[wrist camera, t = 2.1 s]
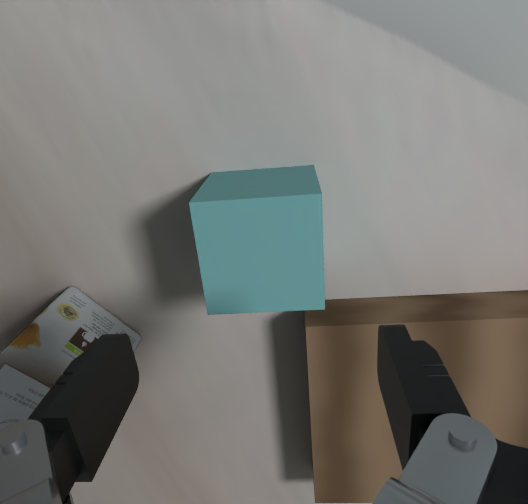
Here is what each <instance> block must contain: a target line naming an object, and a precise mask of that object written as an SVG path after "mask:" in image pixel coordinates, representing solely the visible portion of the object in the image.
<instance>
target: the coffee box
mask: <svg viewBox="0 0 528 504" xmlns="http://www.w3.org/2000/svg"><path fill="white" fill-rule="evenodd" d="M123 333H126V334H127V335H128V336H129V338H130V341H131V345H132V348H133V352H134V351H135V350H136V348H137V346H138V344H139V343H140V341H141V336H140V335H138V334H137V333H136V332H134V331H133V330H132V329H130V328H129V327H128V326H126V325H125V324H124V323H122V322H121V321H120V320H118V319H117V318H116V317H114V316H113V315H112V314H110V313H109V312H107V311H106V310H105V309H103V308H102V307H101V306H99V305H98V304H97V303H95V302H94V301H93V300H91V299H90V298H89V297H87V296H86V295H85V294H83V293H82V292H81V291H79V290H78V289H76V288H74V287H69V288H67V289H66V290H65V291H64V292H63V293H62V294H61V295H59V296H58V297H57V298H56V299H55V300H54V301H53V302H52V303H51V304H50V305H49V306H48V307H47V308H46V309H45V310H44V311H43V312H42V313H41V314H40V315H39V316H38V317H37V318H36V319H35V320H34V321H33V322H31V323H30V324H29V325H28V326H27V327H26V328H25V329H24V330H23V331H22V332H21V333H20V334H19V335H18V336H17V337H16V338H15V339H14V340H13V341H12V342H11V343H10V344H9V345H8V346H7V347H6V348H5V349H4V350H3V351H2V352H1V353H0V430H1V429H3V428H5V427H6V426H8V425H10V424H13V423H15V422H18V421H22V420H27V419H28V417H29V416H30V415H31V414H32V412H33V411H34V410H35V408H36V407H37V406H38V404H39V403H40V402H41V401H42V399H43V398H44V397H45V395H46V394H47V393H48V391H49V390H50V389H51V387H52V386H53V385H55V382H56V381H57V380H58V378H59V377H60V376H61V375H63V372H64V371H65V369H66V368H67V367H68V365H69V364H70V363H71V361H72V360H74V359H75V358H76V357H78V356H79V355H80V354H82V353H83V352H84V351H86V350H91V348H92V347H93V345H94V344H95V343H96V341H97V340H98V339H99V337H100V336H101V335H103V334H123Z"/></svg>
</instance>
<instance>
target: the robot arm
mask: <svg viewBox="0 0 528 504" xmlns="http://www.w3.org/2000/svg"><path fill="white" fill-rule="evenodd" d="M377 374H378V382H379V387H380V390H381V394H382V398H383V401H384V405H385V408H386V412H387V416H388V419H389V423H390V426H391V430H392V434H393V437H394V441H395V445H396V448H397V452H398V455H399V459H400V463H401V466H402V470H403V472H402V473H401V475H400V476H399V478H398V479H395V478H393V477H391V478H389V479H388V480H387V481H386V482H385V484H384V485H383V487H382V488H381V490H380V492H379V493H378V495H377V497H376V498H375V500H374V502H373V503H372V504H528V448H524V447H520V446H516V445H512V444H508V443H505V442H503V441H500V440H498V439H496V438H495V437H494V435H493V434H492V432H491V431H490V430H489V429H488V428H487V427H486V426H485V425H484V424H482V423H481V422H479V421H478V420H476V419H474V418H472V417H471V416H470V414H469V412H468V410H467V408H466V406H465V404H464V402H463V400H462V398H461V396H460V394H459V392H458V390H457V389H456V387H455V385H454V383H453V381H452V379H451V377H449V373H448V371H447V369H446V367H445V366H444V363H443V362H442V360H441V358H440V356H439V354H438V352H437V351H436V350H435V349H434V348H433V347H432V346H430V345H429V344H428V343H427V342H426V341H424V340H416V341H412V339H411V337H410V335H409V333H408V330H407V328H406V326H405V325H404V324H395V325H379V327H378V349H377ZM138 383H139V371H138V367H137V363H136V360H135V356H134V352H133V348H132V345H131V341H130V338H129V336H128V335H127V334H126V333H123V334H103V335H101V336H100V337H99V339H98V340H97V341H96V343H95V344H94V345H93V347H92V348H91V350H86V351H84V352H83V353H82V354H80V355H79V356H78V357H76V358H75V359H74V360H72V361H71V363H70V364H69V365H68V367H67V368H66V369H65V371H64V372H63V375H61V376H60V377H59V378H58V380H57V381H56V382H55V385H53V386H52V387H51V389H50V390H49V391H48V393H47V394H46V395H45V397H44V398H43V399H42V401H41V402H40V403H39V404H38V406H37V407H36V408H35V410H34V411H33V412H32V414H31V415H30V416H29V417H28V419H27V420H22V421H18V422H15V423H13V424H10V425H8V426H6V427H5V428H3V429H1V430H0V504H74V502H73V498H72V495H71V493H70V490H71V488H72V487H73V485H74V483H75V482H92V480H93V478H94V476H95V474H96V472H97V470H98V468H99V466H100V464H101V462H102V460H103V458H104V456H105V454H106V452H107V450H108V448H109V446H110V444H111V442H112V440H113V438H114V436H115V434H116V431H117V429H118V427H119V425H120V423H121V421H122V419H123V417H124V415H125V413H126V411H127V409H128V407H129V405H130V403H131V401H132V399H133V397H134V395H135V393H136V391H137V388H138Z"/></svg>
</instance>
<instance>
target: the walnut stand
mask: <svg viewBox="0 0 528 504" xmlns="http://www.w3.org/2000/svg"><path fill="white" fill-rule="evenodd" d="M304 315H305V333H306V352H307V370H308V388H309V407H310V425H311V443H312V461H313V478H314V494H315V503H373V502H374V500H375V498H376V497H377V495H378V493H379V492H380V490H381V488H382V487H383V485H384V484H385V482H386V481H387V480H388V479H389V478H391V477H393V478H395V479H398V478H399V476H400V475H401V473H402V472H403V470H402V466H401V463H400V459H399V455H398V452H397V448H396V445H395V441H394V437H393V434H392V430H391V426H390V423H389V419H388V416H387V412H386V408H385V405H384V401H383V398H382V394H381V390H380V387H379V382H378V374H377V349H378V327H379V325H395V324H404V325H405V326H406V328H407V330H408V333H409V335H410V337H411V339H412V341H416V340H424V341H426V342H427V343H428V344H429V345H430V346H432V347H433V348H434V349H435V350H436V351H437V352H438V354H439V356H440V358H441V360H442V362H443V363H444V366H445V367H446V369H447V371H448V373H449V377H451V379H452V381H453V383H454V385H455V387H456V389H457V390H458V392H459V394H460V396H461V398H462V400H463V402H464V404H465V406H466V408H467V410H468V412H469V414H470V416H471V417H472V418H474V419H476V420H478V421H479V422H481V423H482V424H484V425H485V426H486V427H487V428H488V429H489V430H490V431H491V432H492V434H493V435H494V437H495V438H496V439H498V440H500V441H503V442H505V443H508V444H512V445H516V446H520V447H524V448H528V290H526V291H505V292H484V293H463V294H441V295H420V296H399V297H377V298H356V299H335V300H325V309H324V310H304Z"/></svg>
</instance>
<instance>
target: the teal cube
mask: <svg viewBox="0 0 528 504" xmlns="http://www.w3.org/2000/svg"><path fill="white" fill-rule="evenodd" d="M189 207H190V213H191V219H192V225H193V231H194V236H195V242H196V248H197V254H198V260H199V266H200V272H201V278H202V284H203V290H204V296H205V302H206V308H207V314H208V315H212V314H234V313H257V312H279V311H302V310H324V309H325V287H324V252H323V217H322V193H321V189H320V185H319V182H318V178H317V175H316V171H315V167H314V165H308V166H294V167H281V168H267V169H254V170H240V171H227V172H213V173H211V174H210V175H209V176H208V178H207V179H206V180H205V182H204V183H203V184H202V186H201V187H200V188H199V190H198V191H197V192H196V194H195V195H194V197H193V198H192V199H191V201H190V202H189Z"/></svg>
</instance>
